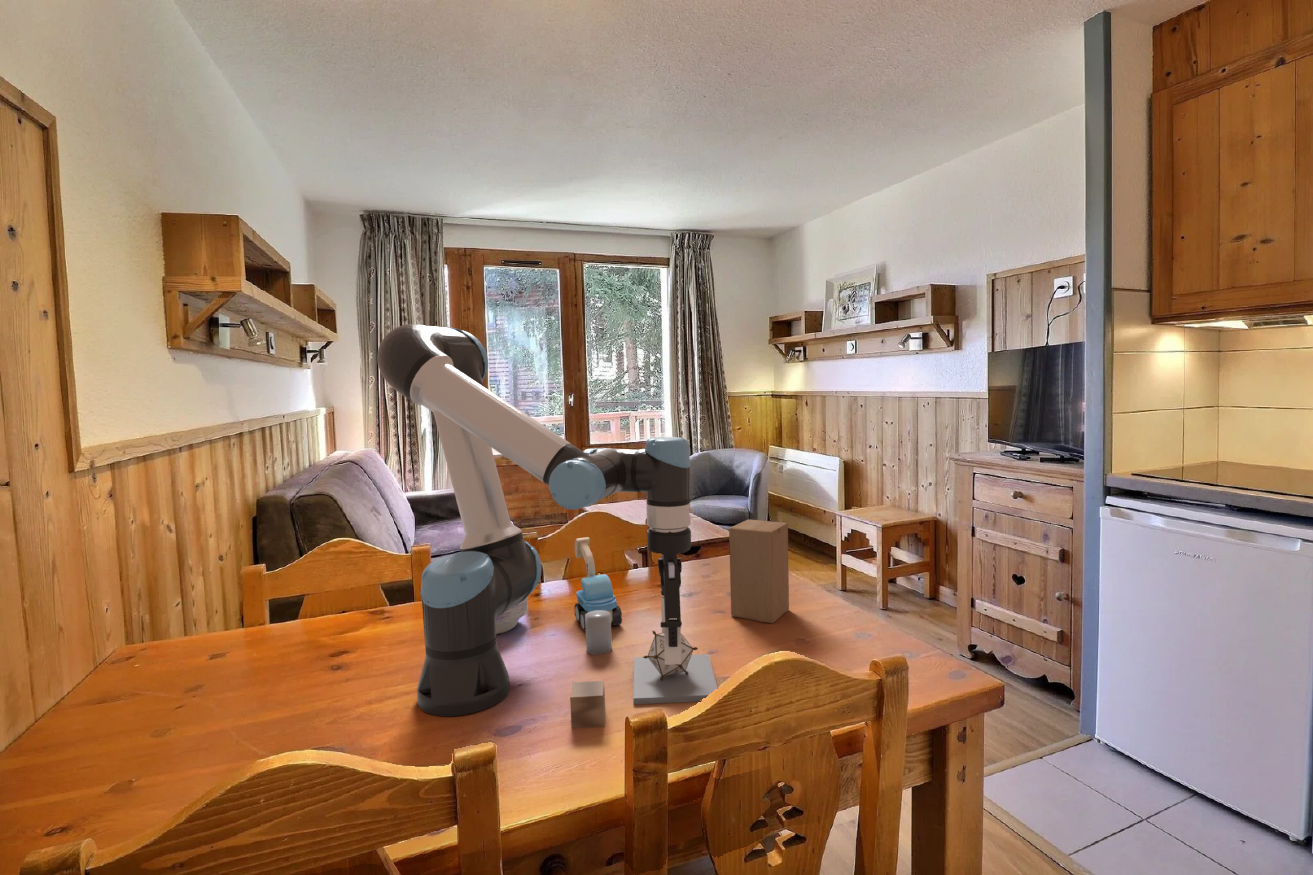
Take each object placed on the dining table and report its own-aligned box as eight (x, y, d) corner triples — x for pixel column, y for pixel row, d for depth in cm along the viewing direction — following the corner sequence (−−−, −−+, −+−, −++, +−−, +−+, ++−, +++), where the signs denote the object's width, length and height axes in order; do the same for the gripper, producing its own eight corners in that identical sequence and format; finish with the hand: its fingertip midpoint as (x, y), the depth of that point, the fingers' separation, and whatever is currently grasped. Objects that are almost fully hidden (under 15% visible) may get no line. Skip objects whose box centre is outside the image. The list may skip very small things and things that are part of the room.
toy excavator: (603, 604, 156) (600, 533, 154) (624, 628, 140) (621, 549, 139) (567, 609, 153) (564, 537, 151) (585, 634, 137) (582, 554, 136)
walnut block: (571, 728, 100) (570, 697, 100) (574, 712, 105) (572, 682, 105) (604, 726, 100) (602, 695, 100) (605, 710, 105) (604, 680, 105)
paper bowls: (490, 611, 153) (488, 578, 153) (542, 620, 146) (540, 586, 146) (441, 634, 140) (438, 598, 139) (495, 646, 133) (493, 608, 132)
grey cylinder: (585, 654, 127) (584, 619, 127) (587, 644, 132) (586, 610, 132) (611, 653, 127) (609, 618, 127) (612, 643, 132) (611, 609, 132)
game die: (680, 698, 114) (694, 667, 108) (634, 680, 115) (646, 649, 108) (692, 655, 121) (706, 624, 115) (648, 639, 122) (660, 607, 115)
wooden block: (789, 609, 148) (788, 522, 146) (772, 624, 140) (771, 532, 138) (749, 602, 153) (747, 518, 152) (730, 616, 145) (728, 527, 143)
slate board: (633, 704, 107) (633, 698, 107) (634, 662, 123) (634, 657, 123) (719, 700, 107) (719, 694, 107) (708, 659, 123) (708, 653, 123)
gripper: (697, 545, 100) (698, 678, 102) (685, 511, 125) (687, 619, 127) (648, 546, 100) (650, 679, 102) (646, 512, 125) (648, 620, 127)
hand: (670, 646), depth 115 cm, fingers open, 13 cm apart
